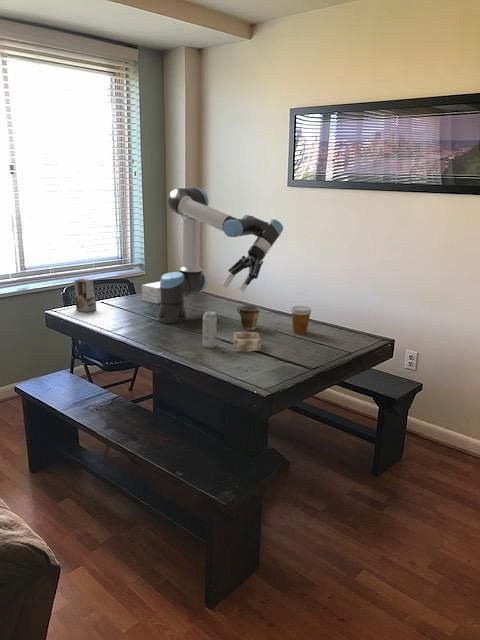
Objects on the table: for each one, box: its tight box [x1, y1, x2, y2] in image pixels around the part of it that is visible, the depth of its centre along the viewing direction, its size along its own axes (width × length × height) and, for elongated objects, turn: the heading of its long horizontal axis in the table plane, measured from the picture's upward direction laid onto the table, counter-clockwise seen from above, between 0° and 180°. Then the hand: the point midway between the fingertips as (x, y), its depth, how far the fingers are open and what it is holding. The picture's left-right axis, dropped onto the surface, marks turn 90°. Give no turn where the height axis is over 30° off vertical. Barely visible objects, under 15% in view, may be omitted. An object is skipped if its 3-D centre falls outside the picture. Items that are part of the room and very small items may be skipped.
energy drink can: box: [202, 311, 218, 349], centre depth 228 cm, size 6×6×15 cm
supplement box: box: [141, 281, 161, 305], centre depth 306 cm, size 17×13×9 cm
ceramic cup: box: [236, 305, 260, 331], centre depth 257 cm, size 13×10×10 cm
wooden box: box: [232, 331, 261, 352], centre depth 229 cm, size 11×11×5 cm
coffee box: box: [73, 278, 97, 313], centre depth 279 cm, size 9×6×16 cm
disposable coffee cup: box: [290, 305, 312, 335], centre depth 251 cm, size 10×10×12 cm
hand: (232, 287), depth 232 cm, fingers open, 13 cm apart
